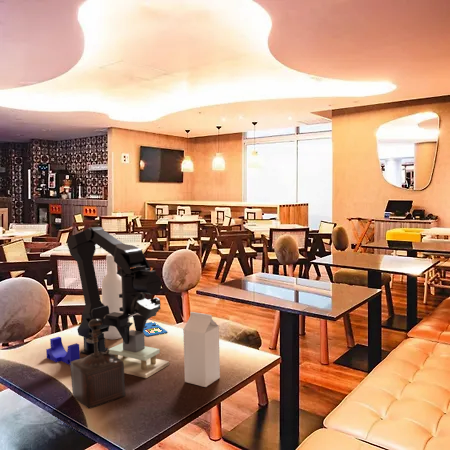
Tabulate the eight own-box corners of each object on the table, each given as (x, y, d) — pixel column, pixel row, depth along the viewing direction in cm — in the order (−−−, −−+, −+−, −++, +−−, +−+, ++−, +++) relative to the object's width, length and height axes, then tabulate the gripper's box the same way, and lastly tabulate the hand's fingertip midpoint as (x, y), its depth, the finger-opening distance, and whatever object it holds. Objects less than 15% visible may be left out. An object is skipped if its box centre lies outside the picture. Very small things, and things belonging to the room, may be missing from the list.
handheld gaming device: (153, 320, 181) (167, 331, 168) (153, 323, 181) (167, 333, 168) (133, 324, 177) (146, 334, 164) (133, 327, 177) (146, 337, 164)
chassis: (99, 367, 137) (98, 354, 137) (124, 354, 146) (123, 342, 146) (146, 378, 128) (145, 364, 128) (169, 364, 138) (168, 351, 137)
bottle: (116, 340, 160) (112, 256, 158) (98, 338, 164) (95, 255, 161) (130, 334, 167) (127, 253, 165) (113, 331, 171) (110, 252, 168)
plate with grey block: (144, 360, 131) (144, 339, 130) (108, 353, 137) (107, 333, 137) (159, 352, 137) (159, 332, 136) (124, 345, 143) (123, 326, 143)
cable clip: (46, 358, 145) (45, 340, 145) (59, 354, 149) (58, 336, 148) (66, 367, 137) (65, 348, 137) (79, 363, 141) (79, 344, 140)
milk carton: (205, 388, 121) (204, 318, 120) (184, 382, 125) (182, 314, 123) (220, 378, 127) (218, 312, 126) (199, 373, 131) (197, 308, 129)
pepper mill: (128, 395, 118) (126, 327, 116) (88, 409, 111) (84, 337, 109) (101, 377, 129) (99, 315, 128) (63, 389, 122) (60, 323, 121)
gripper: (131, 300, 123) (133, 355, 125) (171, 286, 140) (173, 335, 141) (101, 295, 129) (103, 349, 130) (143, 283, 145) (145, 330, 146)
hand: (133, 341), depth 137 cm, fingers open, 5 cm apart
